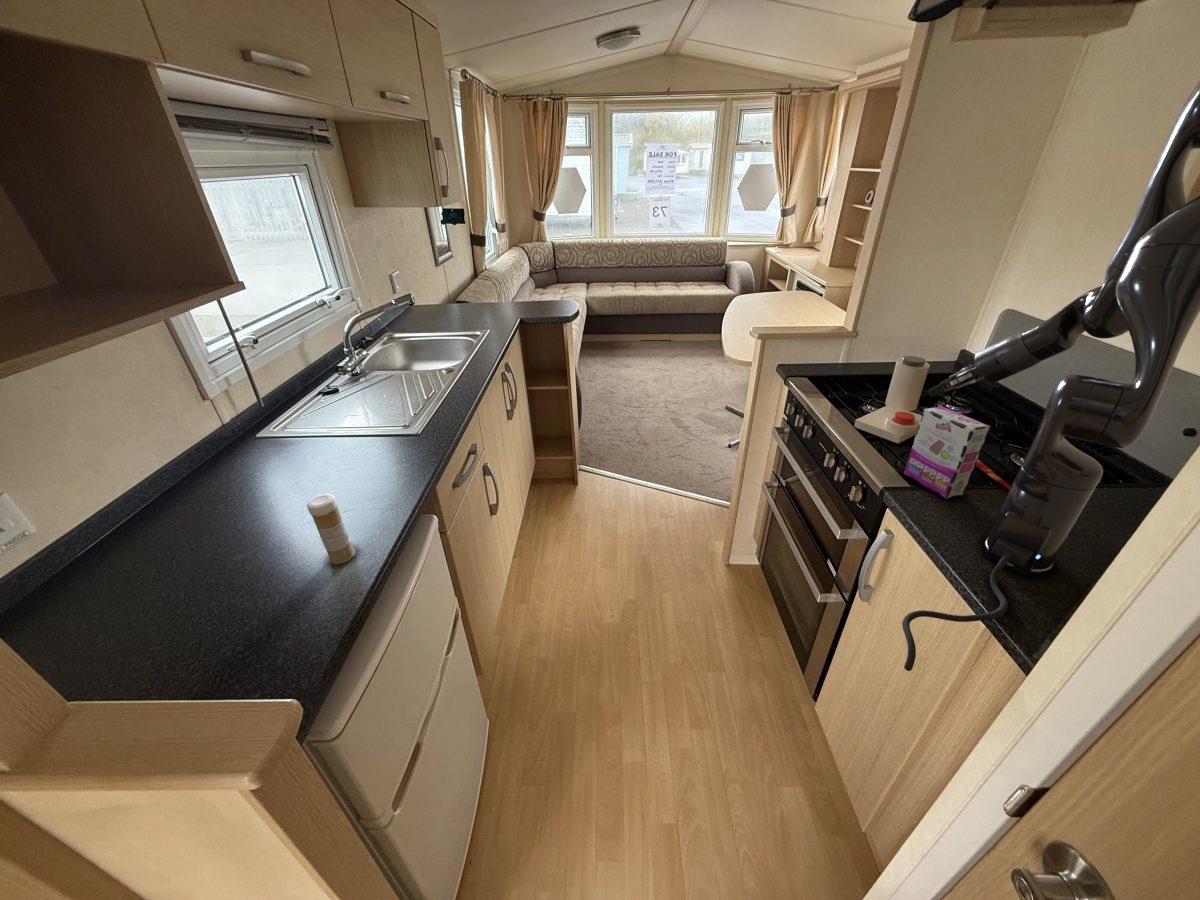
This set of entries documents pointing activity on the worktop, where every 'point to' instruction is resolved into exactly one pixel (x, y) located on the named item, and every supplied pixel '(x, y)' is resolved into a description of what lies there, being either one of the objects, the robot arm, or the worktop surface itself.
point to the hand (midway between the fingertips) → (930, 393)
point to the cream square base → (888, 425)
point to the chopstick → (992, 474)
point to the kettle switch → (904, 418)
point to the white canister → (907, 383)
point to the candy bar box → (945, 451)
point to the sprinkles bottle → (331, 528)
